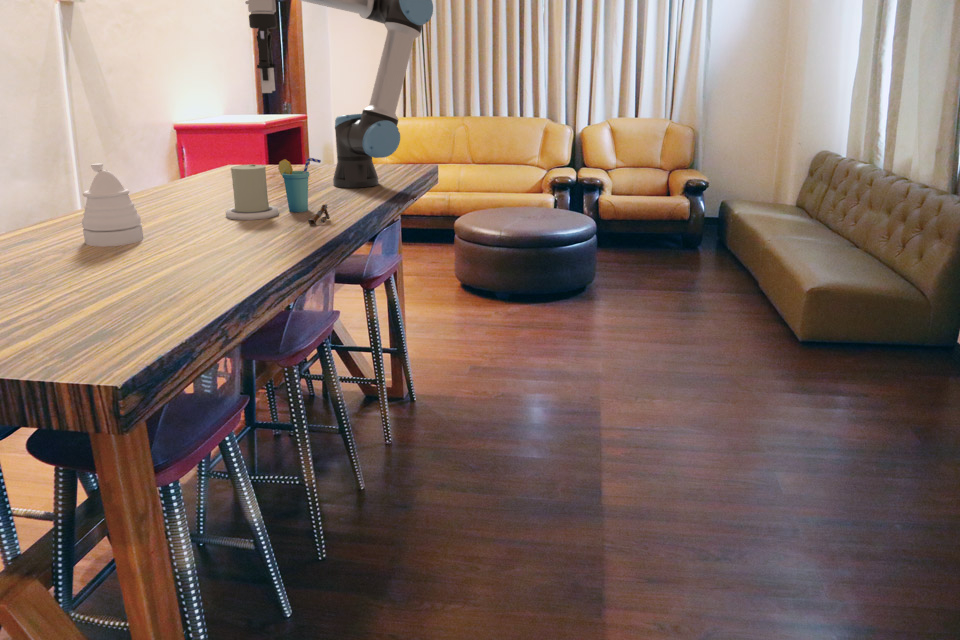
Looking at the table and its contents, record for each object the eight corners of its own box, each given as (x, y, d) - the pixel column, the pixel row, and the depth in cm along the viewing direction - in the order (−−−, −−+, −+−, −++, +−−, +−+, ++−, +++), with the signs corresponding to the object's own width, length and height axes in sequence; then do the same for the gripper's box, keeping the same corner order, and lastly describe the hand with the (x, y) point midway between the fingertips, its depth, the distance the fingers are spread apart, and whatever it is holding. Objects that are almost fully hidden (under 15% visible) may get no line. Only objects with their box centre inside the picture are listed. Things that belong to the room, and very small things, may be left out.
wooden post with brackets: (333, 216, 216) (328, 202, 213) (318, 233, 211) (313, 219, 208) (327, 216, 217) (322, 201, 214) (312, 233, 211) (307, 219, 208)
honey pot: (72, 244, 190) (59, 166, 184) (114, 233, 201) (103, 160, 195) (115, 248, 185) (103, 169, 180) (155, 237, 197) (145, 162, 191)
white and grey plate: (280, 209, 230) (279, 204, 230) (276, 219, 217) (276, 213, 217) (229, 211, 228) (228, 205, 228) (222, 221, 215) (222, 215, 214)
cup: (330, 209, 230) (326, 156, 225) (317, 214, 223) (313, 159, 218) (286, 207, 234) (282, 154, 229) (272, 212, 227) (267, 157, 222)
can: (274, 206, 226) (270, 163, 222) (262, 212, 217) (258, 167, 214) (242, 206, 227) (238, 162, 223) (229, 212, 218) (224, 167, 215)
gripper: (252, 15, 238) (259, 90, 245) (243, 11, 215) (251, 94, 221) (278, 15, 239) (284, 90, 246) (272, 11, 216) (279, 93, 223)
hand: (268, 92), depth 234 cm, fingers open, 13 cm apart
